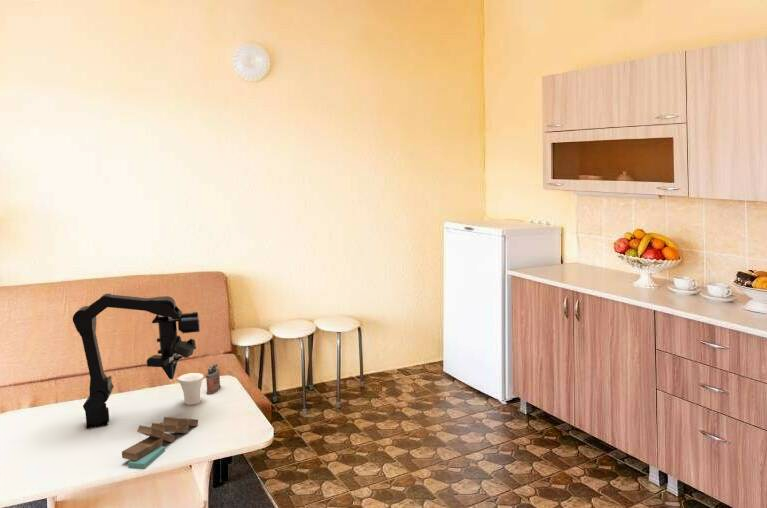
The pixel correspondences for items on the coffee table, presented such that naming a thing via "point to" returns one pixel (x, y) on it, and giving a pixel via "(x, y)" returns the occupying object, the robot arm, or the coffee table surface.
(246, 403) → the coffee table surface
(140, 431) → the brown wooden block
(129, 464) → the tile
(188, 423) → the tile
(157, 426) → the brown wooden plank
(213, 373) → the lighter
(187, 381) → the cup
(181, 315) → the robot arm
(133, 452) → the tile
